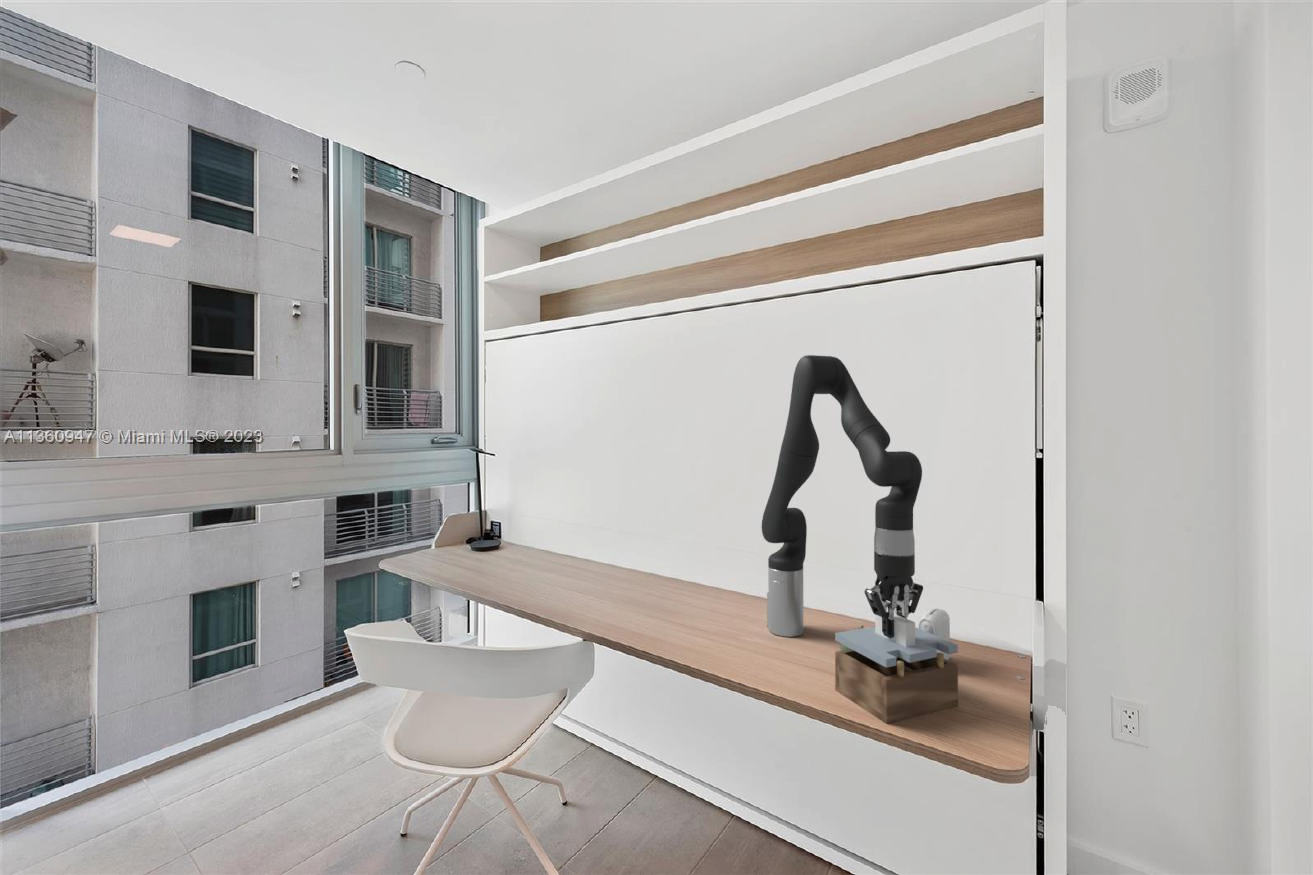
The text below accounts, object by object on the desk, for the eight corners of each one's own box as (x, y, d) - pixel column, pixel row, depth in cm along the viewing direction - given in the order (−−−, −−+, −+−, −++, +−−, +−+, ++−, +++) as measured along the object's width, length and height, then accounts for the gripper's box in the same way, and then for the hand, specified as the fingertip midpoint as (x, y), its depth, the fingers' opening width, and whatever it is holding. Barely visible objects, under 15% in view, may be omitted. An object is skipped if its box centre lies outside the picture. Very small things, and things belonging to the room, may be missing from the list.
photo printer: (936, 673, 119) (936, 617, 119) (916, 667, 122) (916, 613, 122) (952, 659, 126) (952, 607, 126) (933, 654, 129) (932, 603, 129)
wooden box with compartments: (835, 690, 111) (835, 639, 111) (901, 675, 118) (901, 627, 118) (886, 723, 98) (886, 666, 98) (958, 705, 105) (957, 652, 104)
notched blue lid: (835, 640, 111) (835, 611, 111) (901, 628, 118) (901, 601, 118) (886, 667, 98) (886, 635, 98) (957, 652, 105) (957, 622, 105)
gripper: (905, 543, 114) (905, 624, 114) (853, 549, 109) (853, 634, 109) (935, 551, 107) (935, 637, 107) (881, 557, 102) (881, 647, 102)
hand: (894, 635), depth 108 cm, fingers closed on notched blue lid, 2 cm apart
